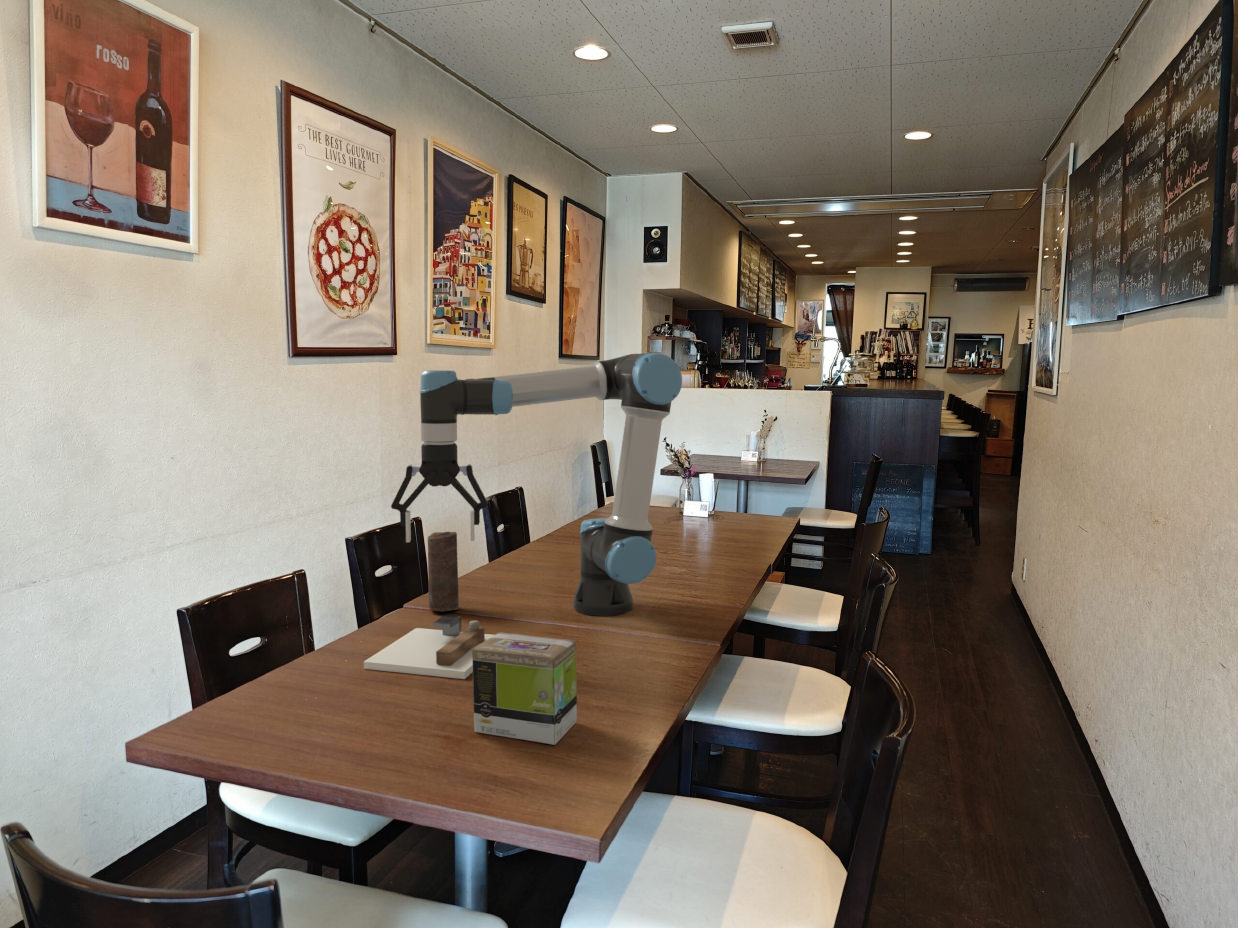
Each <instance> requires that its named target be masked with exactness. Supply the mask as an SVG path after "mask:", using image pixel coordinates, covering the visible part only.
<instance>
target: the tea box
mask: <svg viewBox="0 0 1238 928" xmlns="http://www.w3.org/2000/svg"><path fill="white" fill-rule="evenodd" d="M493 635H494V636H492V637H491V638H489V639H488V640H486V641H484V642H483V643H481V644H480V645H478V646H477V647H475V648H473V649H472V659H473V672H472V690H473V691H472V697H473V698H472V699H473V729H474V732H475V733H479V734H487V735H491V736H498V737H505V738H510V739H518V740H524V741H530V742H537V743H541V744H548V745H552V746H553V745H557V743H558V742H559V741H561V739H563V737H564V736H565V735H566V733H568V732H569V731H570V729H572V727H573V726H574V725H575V724H576V723H577V719H578V718H577V716H578V715H577V714H578V713H577V712H578V711H577V710H578V709H577V708H578V707H577V706H578V705H577V704H578V703H577V702H578V700H577V699H578V694H577V693H578V691H577V689H578V688H577V684H578V683H577V682H578V681H577V642H576V640H574V639H565V638H556V637H547V636H538V635H527V634H521V633H520V634H519V633H510V632H509V633H508V632H502V631H501V632H500V631H499V632H497V633H496V634H493Z"/></svg>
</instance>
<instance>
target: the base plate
mask: <svg viewBox="0 0 1238 928" xmlns="http://www.w3.org/2000/svg"><path fill="white" fill-rule="evenodd" d="M462 632H463V631H461V633H462ZM484 634H485V640H484V641H486V640H488V639H489V638H491V637H492V636H494V635H495V634H490V633H489V634H488V633H484ZM456 637H457V636H448V635H443V630H442V629H435V628H434V629H432V628H422V627H415V628H413V630H411V631H409V632H408V633H406V634H405V635H403V636H402V637H399V638H398V639H397V640H395V641H394V642H392V643H390V644H389V645H387V646H386V647H383V649H381V650H380V651H378V652H376V653H375V654H373V655H372V656H370V657H369V658H367V659H365V660H364V661H363V669H364V670H372V671H381V672H391V673H393V672H394V673H401V674H410V675H421V676H429V677H442V678H450V679H460V680H466V679H467V678H468V677H469V676H470V675H471V674H473V659H472V649H473V648H475V647H477V646H478V645H480V644H481V643H483V642H484V641H483V642H481V643H477V644H476V645H475V646H474V647H472V648H471V649H470V650H469V651H467V652H466V653H465V654H464V655H462V656H461V657H460V658H459V659H457V660H456V661H455V662H454V663H452V664H451V665H442V664H436V652H437V651H438V650H439V649H441V648H442V647H443V646H445V645H446V644H447V643H449V642H450V641H452V640H453V639H454V638H456Z"/></svg>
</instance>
